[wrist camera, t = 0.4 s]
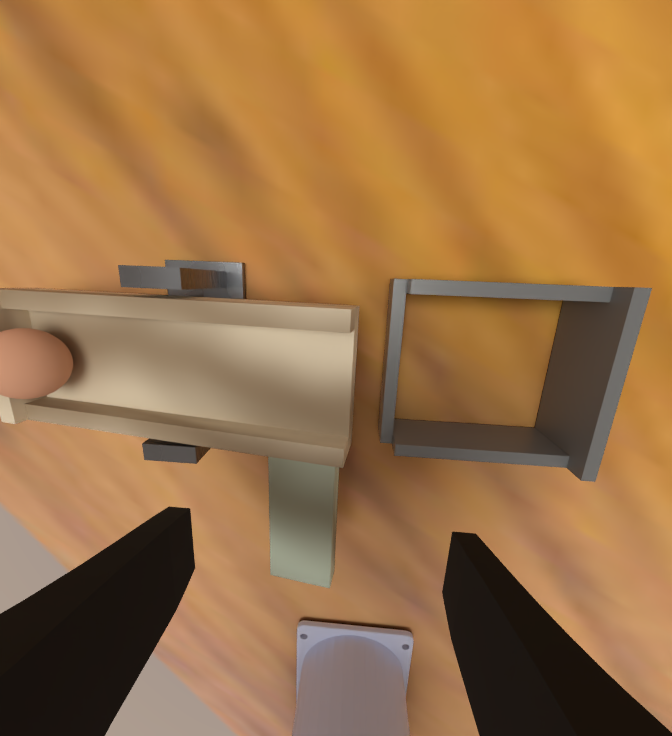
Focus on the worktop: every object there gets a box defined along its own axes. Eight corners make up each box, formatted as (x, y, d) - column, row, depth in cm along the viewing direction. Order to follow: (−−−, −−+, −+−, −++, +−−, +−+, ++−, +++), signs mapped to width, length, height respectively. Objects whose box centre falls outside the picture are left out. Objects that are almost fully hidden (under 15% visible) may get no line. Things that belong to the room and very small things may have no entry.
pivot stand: (250, 426, 19) (214, 473, 14) (184, 422, 19) (128, 467, 14) (244, 263, 16) (199, 255, 12) (169, 260, 17) (96, 251, 12)
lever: (343, 572, 16) (333, 622, 14) (81, 515, 19) (34, 548, 17) (359, 305, 12) (348, 310, 10) (34, 287, 15) (-33, 288, 13)
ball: (95, 389, 15) (27, 413, 12) (40, 383, 15) (-38, 406, 13) (84, 325, 14) (8, 336, 11) (27, 322, 15) (-59, 331, 12)
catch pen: (543, 438, 18) (595, 481, 14) (378, 427, 18) (383, 466, 14) (578, 286, 16) (651, 288, 12) (390, 279, 16) (400, 278, 12)
